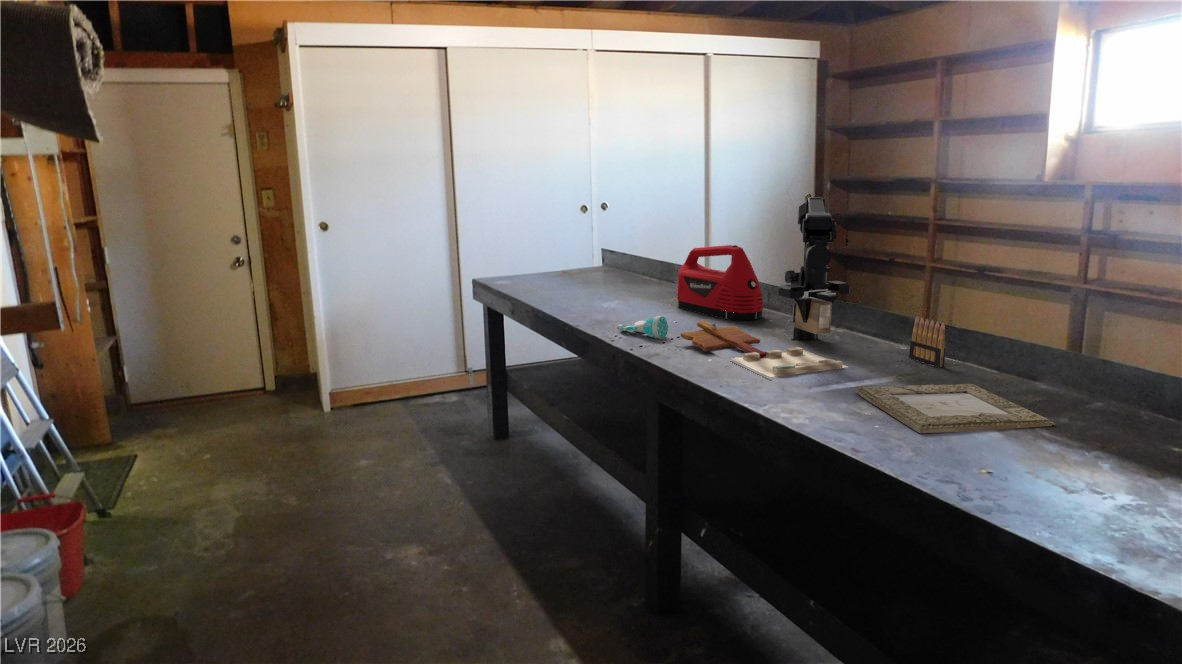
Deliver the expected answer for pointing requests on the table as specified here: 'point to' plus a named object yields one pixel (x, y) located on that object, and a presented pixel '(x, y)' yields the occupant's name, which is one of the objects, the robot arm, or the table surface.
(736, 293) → the power tool
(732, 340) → the sign
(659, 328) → the garden hose nozzle
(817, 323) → the brown wooden box
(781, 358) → the birch notch board
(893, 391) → the picture frame
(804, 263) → the robot arm
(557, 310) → the table surface
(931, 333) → the ammunition clip
